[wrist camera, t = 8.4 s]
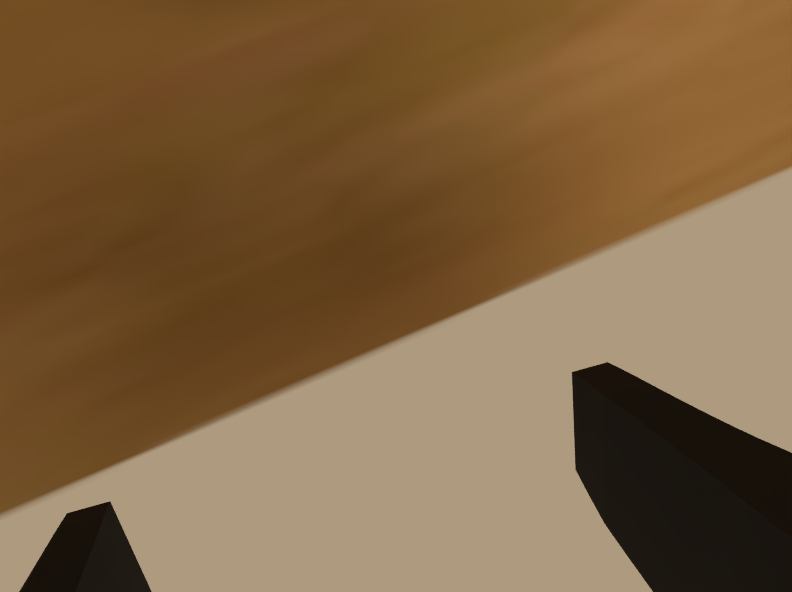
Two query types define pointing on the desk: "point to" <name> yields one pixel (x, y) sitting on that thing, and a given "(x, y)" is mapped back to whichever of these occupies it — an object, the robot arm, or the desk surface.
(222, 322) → the desk surface
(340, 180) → the desk surface
